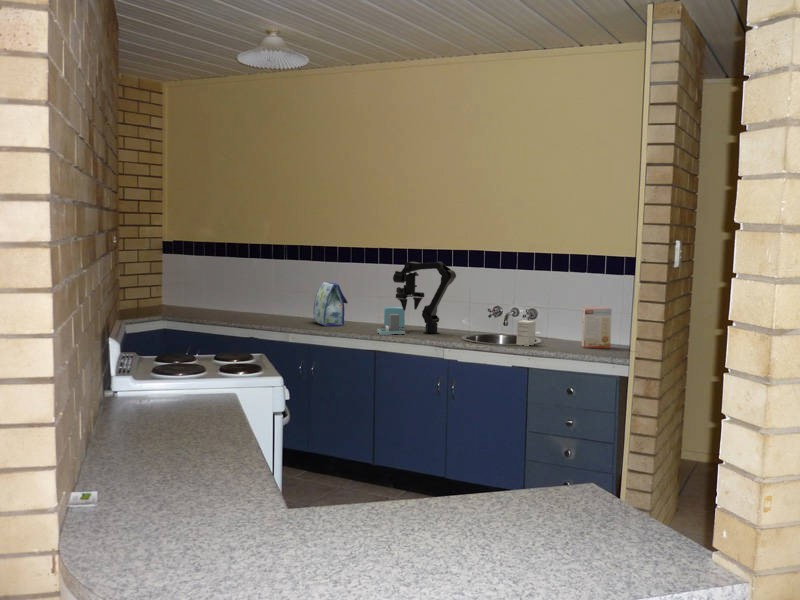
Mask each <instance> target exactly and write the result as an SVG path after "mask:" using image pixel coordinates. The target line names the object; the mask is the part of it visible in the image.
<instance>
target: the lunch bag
mask: <svg viewBox="0 0 800 600" xmlns="http://www.w3.org/2000/svg"><path fill="white" fill-rule="evenodd" d="M341 289H342V288H341V287H340V285H339V284H338V283H335V282H330V281H329V282H328V281H323V282H322V284H321V285H320V287H319V288H318V290H317V292H316V295H315V299H314V305H313V322H314V323H317V324H320V325H322V326H324V327H329V326H339V325H343V326H344V325H345V304H348V300H347V298H346V297H345V296H344V294H343V291H342V290H341Z"/></svg>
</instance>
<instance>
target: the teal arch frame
mask: <svg viewBox="0 0 800 600" xmlns="http://www.w3.org/2000/svg"><path fill="white" fill-rule="evenodd" d="M405 311H406V310H405ZM405 311H404V310H403V307H402V306H400V307H396V306H395V307H393V306H392V307H389V306H388V307H385V308H384V316H383V317H384V322H383V324H384V327H385V328H386V326H389V314H398V315H399V327H403V328H405V323H406V322H405V321H406V320H405V319H406V318H405V317H406V313H405Z"/></svg>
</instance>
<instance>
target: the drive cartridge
mask: <svg viewBox="0 0 800 600" xmlns="http://www.w3.org/2000/svg"><path fill="white" fill-rule="evenodd" d="M399 329H400V328H399V315H398V314H389V331H399Z"/></svg>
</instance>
